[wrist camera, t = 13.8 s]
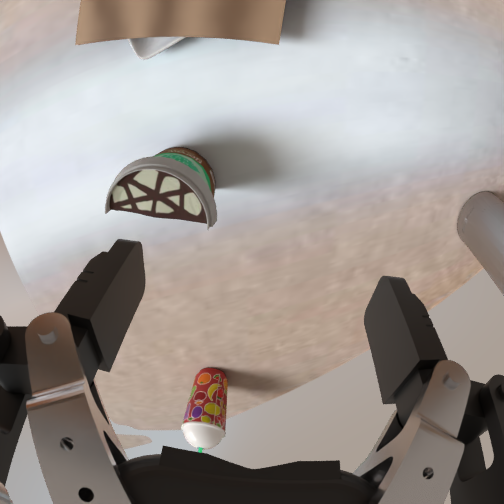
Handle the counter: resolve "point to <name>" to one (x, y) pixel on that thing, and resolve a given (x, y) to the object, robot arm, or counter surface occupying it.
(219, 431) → the smoothie
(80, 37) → the cover board
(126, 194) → the food container
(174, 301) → the counter surface
